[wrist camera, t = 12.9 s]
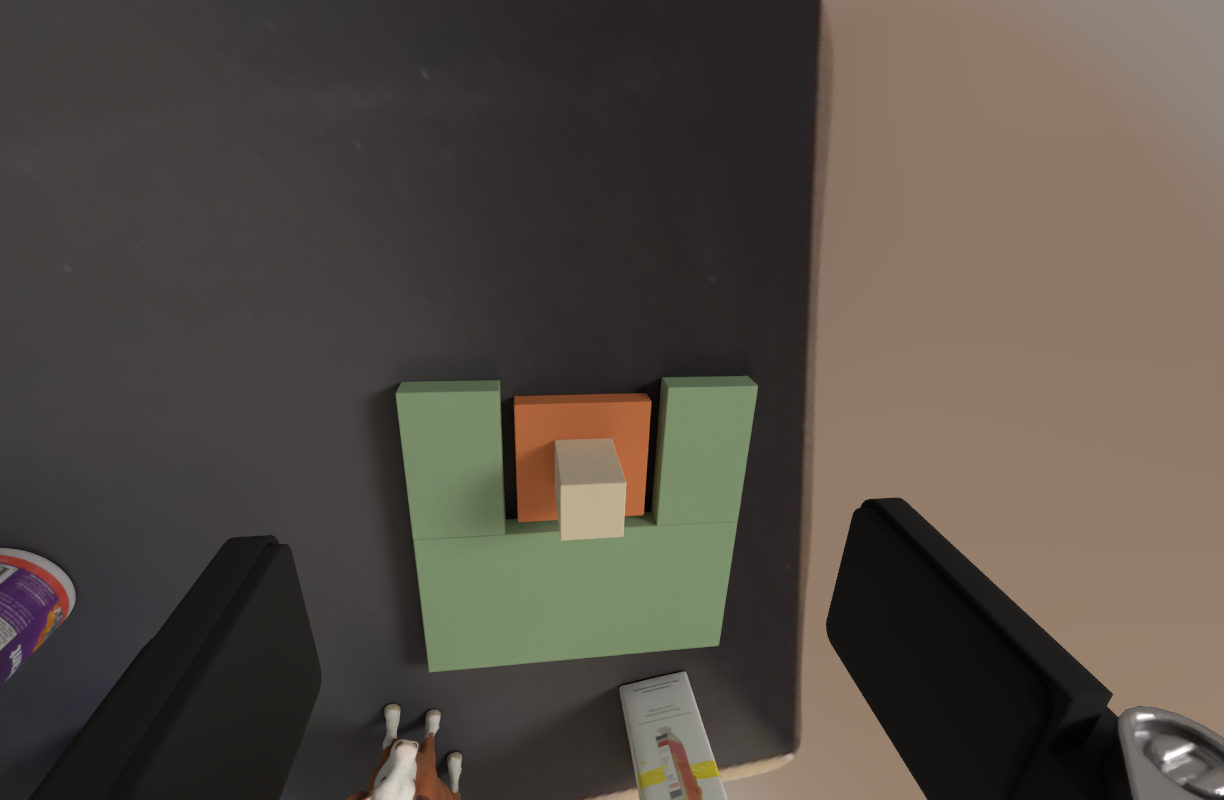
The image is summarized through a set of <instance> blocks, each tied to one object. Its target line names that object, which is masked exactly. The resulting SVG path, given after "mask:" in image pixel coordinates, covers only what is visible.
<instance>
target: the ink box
mask: <svg viewBox="0 0 1224 800" xmlns="http://www.w3.org/2000/svg"><path fill="white" fill-rule="evenodd" d="M619 690H620V696H621V701H622V707H623V712H624V717H625V723H626V728H627V734H628V739H629V744H630V750H631V755H632V761H633V766H634V771H635V777H636V782H637V787H638V793H639V798H640V800H728V798H727V795H726V792H725V789H724V786H723V784H722V781H721V778H720V775H719V772H718V769H717V766H716V763H715V760H714V756H713V753H712V750H711V747H710V744H709V741H708V738H707V735H706V732H705V729H704V726H703V723H702V720H701V717H700V714H699V711H698V707H697V704H696V701H695V698H694V695H693V692H692V689H691V686H690V683H689V680H688V677H687V674H686V672H679V673H674V674H669V675H665V676H661V677H656V678H652V679H648V680H644V681H640V682H636V683H632V684H627V685H623V686H620V688H619Z"/></svg>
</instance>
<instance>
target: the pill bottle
mask: <svg viewBox="0 0 1224 800" xmlns="http://www.w3.org/2000/svg"><path fill="white" fill-rule="evenodd" d="M75 598H76V597H75V589H74V586H73V584H72V582H71V580H70V578H69V577H68V576H67V575H66V573H65V572H64V571H63V570H62V569H60V568H59V567H58V566H57V565H55V564H54V563H52V562H51V561H49V560H47V559H45V558H43V557H41V556H39V555H36V554H33V553H30V552H27V551H23V550H18V549H10V548H0V687H1V686H2V685H3V684H4V683H5V682H6V681H7V680H8V679H9V678H10V676H11V675H12V674H13V673H14V672H15V671H16V670H17V669H18V668H19V667H20V666H21V665H22V664H23V663H24V662H25V661H26V660H27V659H28V658H29V657H30V656H31V655H32V654H33V653H34V652H35V651H36V650H37V649H38V647H39V646H40V645H41V644H42V643H43V642H44V641H45V640H46V639H47V638H48V637H49V636H50V635H51V634H52V633H53V632H54V631H55V630H56V629H57V628H58V627H59V626H60V625H61V624H62V622H63V621H64V620H65V619H66V618H67V617H68V615H69V614H70V613H71V611H72V609H73V607H74V604H75Z"/></svg>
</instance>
